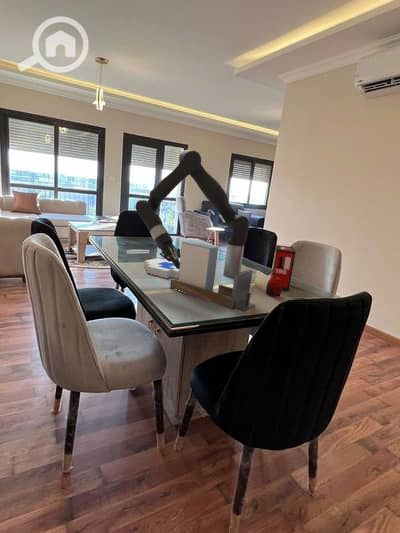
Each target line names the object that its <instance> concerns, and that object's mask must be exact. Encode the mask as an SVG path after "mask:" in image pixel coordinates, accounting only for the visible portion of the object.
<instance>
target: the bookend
mask: <svg viewBox="0 0 400 533" xmlns="http://www.w3.org/2000/svg"><path fill="white" fill-rule="evenodd" d="M252 278H253V269H246V270H243V271H241V272H240V273H237V274H235V276H234V277H233V284H232V288H233V290H232V298H231V305H230V307H229V309H230V310H238V311H241V312H244V313H245V312H247V311H249V310H250V309H252V308H253V307H255V306H256V304H255V303H253V302H247V301H248V295H249V293H250V290H251V284H252V283H251V282H252ZM236 299H238V304H237V308H236V309H235V302H236Z"/></svg>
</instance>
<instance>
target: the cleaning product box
mask: <svg viewBox="0 0 400 533" xmlns="http://www.w3.org/2000/svg"><path fill="white" fill-rule="evenodd" d="M296 253H297V252H296V250H295V248H294V247H293V246H289V245H288V246H286V245H279V244H275V248H274V254H273V260H272V267H271V270H270V271H271V272H270V277H269V279H270V278H271V277H272V276H274V273H273V272H274V268H273V267H274V266H275V268H277V270H276V269H275V276H276V277H277V278H279V279H280V280H281V283H282V290H281V292H288V291H290V287H291V286H290V285H291V279H292V274H293V270H294V263H295V257H296Z"/></svg>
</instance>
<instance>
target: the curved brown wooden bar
mask: <svg viewBox="0 0 400 533" xmlns="http://www.w3.org/2000/svg"><path fill="white" fill-rule="evenodd" d="M171 288H173V289H172V290H174V289H177V290H180V291H183V292H186V293H185V294H187V293H189V294H188V295H190V294H191V295H190V296H193V295H194V296H193V297H196V296H197V297H196V298H199V299H203V300H206V301H209V302H212V303H215V304H217V305H221V306H224V307H227V308H230V305H231V298H232V290H233V287H229V286H226V285H224V284H219V285H218V288H217V289H218V290H217V292H216V291H214V290H213V291H210V290H206V289H203V288H200V287H196V286H193V285H190V284H187V283H183V282H180V281H178V280H177V279H173V278H171V279H170V285H169V289H171ZM177 290H176V291H177ZM180 291H179V292H180ZM183 292H182V293H183ZM251 294H252V293H251V292H249V295H248V301H247V302H249V303H251V302H250V300H251ZM237 304H238V299H236V302H235V309H234V310H237V309H236V308H237Z"/></svg>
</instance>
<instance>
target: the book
mask: <svg viewBox="0 0 400 533" xmlns="http://www.w3.org/2000/svg"><path fill="white" fill-rule="evenodd" d="M218 252H219V246H215V245H211V244H206V243H202V242H201V243H200V242H197V241H192V240H187V241H182V242H181V248H180V258H179V260H180V268H179V278H177V279H178V280H177V281H180V282H183V283H187V284H190V285H193V286H196V287H200V288H203V289H206V290H210V291H213V292H214V286H215V277H216V270H217V263H218V262H217V260H218V254H219V253H218Z"/></svg>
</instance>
